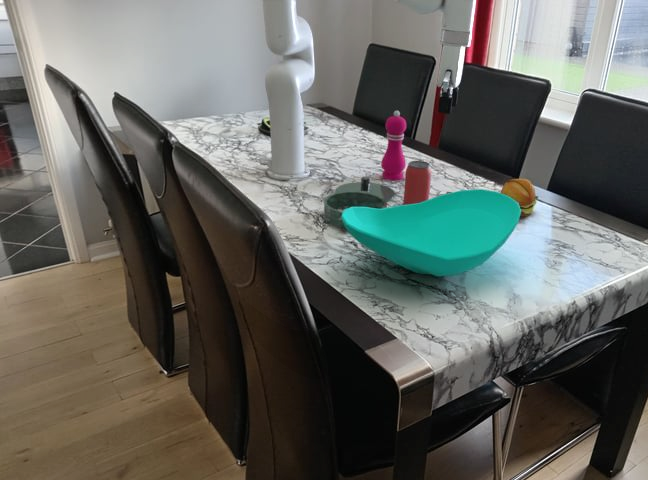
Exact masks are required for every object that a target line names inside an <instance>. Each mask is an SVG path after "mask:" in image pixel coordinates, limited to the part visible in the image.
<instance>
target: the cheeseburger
mask: <svg viewBox="0 0 648 480" xmlns="http://www.w3.org/2000/svg"><path fill="white" fill-rule="evenodd" d="M500 193H501V194H504V195H507V196H509V197H511V198H512V199H513V200H515V201H516V202H518V204H519V207H520V209H521V214H520V217H527V216H530V215H532V213H534V209H535V206H536V204H537V203H538V202H537V200H538V199H539V196H538V195H536V190H535V188H534V185H533V183H532V182H531V181H530V180H528V179H525V178H514V179H509V180H507V181H506V182H505V183H504V184H503V186H502V188H501V190H500Z"/></svg>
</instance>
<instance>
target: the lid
mask: <svg viewBox="0 0 648 480" xmlns="http://www.w3.org/2000/svg"><path fill="white" fill-rule="evenodd" d="M346 191H359V192H361V191H368V192H371V194H375V195H378V196H380V197H381V198H383V199H385V201H386V203H388V202H390V201H392V200H393V199H394V198H395V195H396V193H395V190H394V189H393V188H391V187H390V186H388V185H384V184H382V183H376V182H372V181H371V177H369V176H361V177H360V181H355V182H354V181H353V182H347V183H344V184H341V185H339V186H337V187H336V189H335V190H334V193H339V192H346Z"/></svg>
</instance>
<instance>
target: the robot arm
mask: <svg viewBox="0 0 648 480" xmlns="http://www.w3.org/2000/svg"><path fill="white" fill-rule="evenodd" d="M393 1H394V2H396V3H398V4H399V5H401V6H403V7H405V8H407V9H408V10H410V11H412V12H414V13H416V14H419V15H428V14H433V13H441V12H442V20H441V29H440V37H439V44H440V45H442V50H441V54H440V59H439V66H438V67H439V68H438V72H437V73H438V74H437V81H436V86H437V87H438V88H440V87H441V88H440V93H439V96H438V97H439V98H438V107H437V113H439V114H443V115H450V114H451V113H452V107H457V104H458V97H459V85H460V83H461V82H462V81H461V80H462V76H463V70H464V62H465V54H466V53H465V52H466V48H468V47H471V43H472V42H471V41H472V36H473V27H474V20H475V11H476V5H477V4H476V2H477V0H393ZM262 9H263V20H264V21H263V22H264V34H265V42H266V45H267V48H268V49H269V51H270V52H271V53H273V54H274V55H277V56H282V60H280V61H277V62H275V63H274V64H272V65H271V66H270V67H269V68H268V70H267V71H266V74H265V78H264V85H265V86H264V87H265V90H266V91H265V92H266V95H267V96H266V97H267V101H268V102H267V103H268V111H269V113H268V114H269V120H270V133H271V137H270V154H271V156H270V157H267V156H259V164H260V166H267V167H268V168H267V169H266V175H267V176H268V177H269V178H271V179H274V180H278V181H291V180H299V179H304V178H306V177H308V176H309V175H310V174H311V171H310V168H308V167H307V166H305V134H304V126H305V124H304V122H305V119H304V117H305V116H304V115H305V114H304V107H303V101H302V98H301V94H302V93H305V92H306V91H308V90H309V89H310V88H311V87H312V85H313V84H314V82H315V76H316V75H315V74H316V69H315V52H314V37H313V32H312V29H311V25H310V24H309V23H308V21H307V20H305V18H303V17H302V16H299V15H298V14H297V13H298V12H297V0H262Z"/></svg>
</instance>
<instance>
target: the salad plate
mask: <svg viewBox="0 0 648 480" xmlns="http://www.w3.org/2000/svg"><path fill="white" fill-rule="evenodd" d="M305 124H307V122H306V121H304V135H305V134H306V133H307V132H309V131H310V127H308V126H305ZM256 125H257V129H258V130H259V132H260V134H262V135H265V136H267V137H269V138H271V133H270V118H267V117H263V118H262V120H261V122H258V123H256Z"/></svg>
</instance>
